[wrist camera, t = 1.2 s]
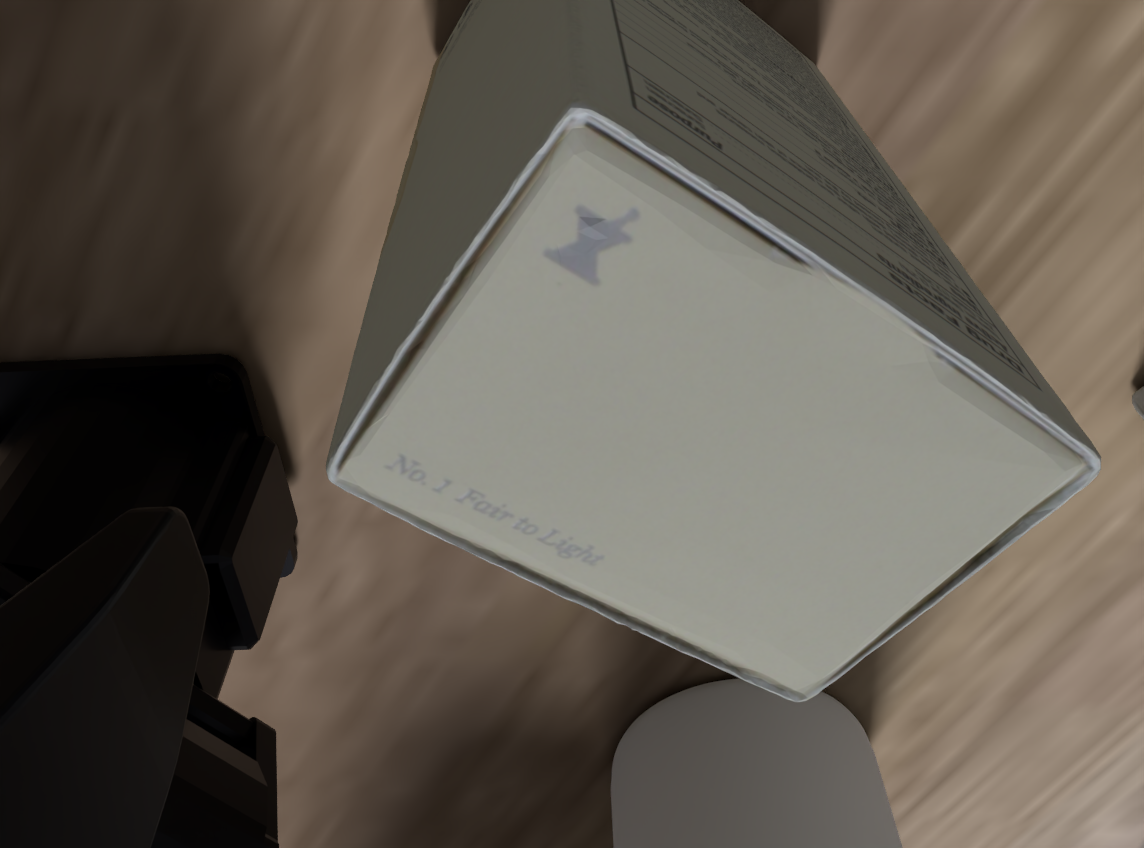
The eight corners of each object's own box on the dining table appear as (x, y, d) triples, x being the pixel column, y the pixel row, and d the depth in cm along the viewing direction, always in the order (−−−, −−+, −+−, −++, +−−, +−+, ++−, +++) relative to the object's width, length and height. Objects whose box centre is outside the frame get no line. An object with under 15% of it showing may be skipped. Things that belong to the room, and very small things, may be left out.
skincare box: (428, 67, 19) (277, 478, 9) (563, -156, 17) (554, 72, 7) (690, 243, 21) (795, 729, 11) (840, 65, 19) (1128, 473, 9)
